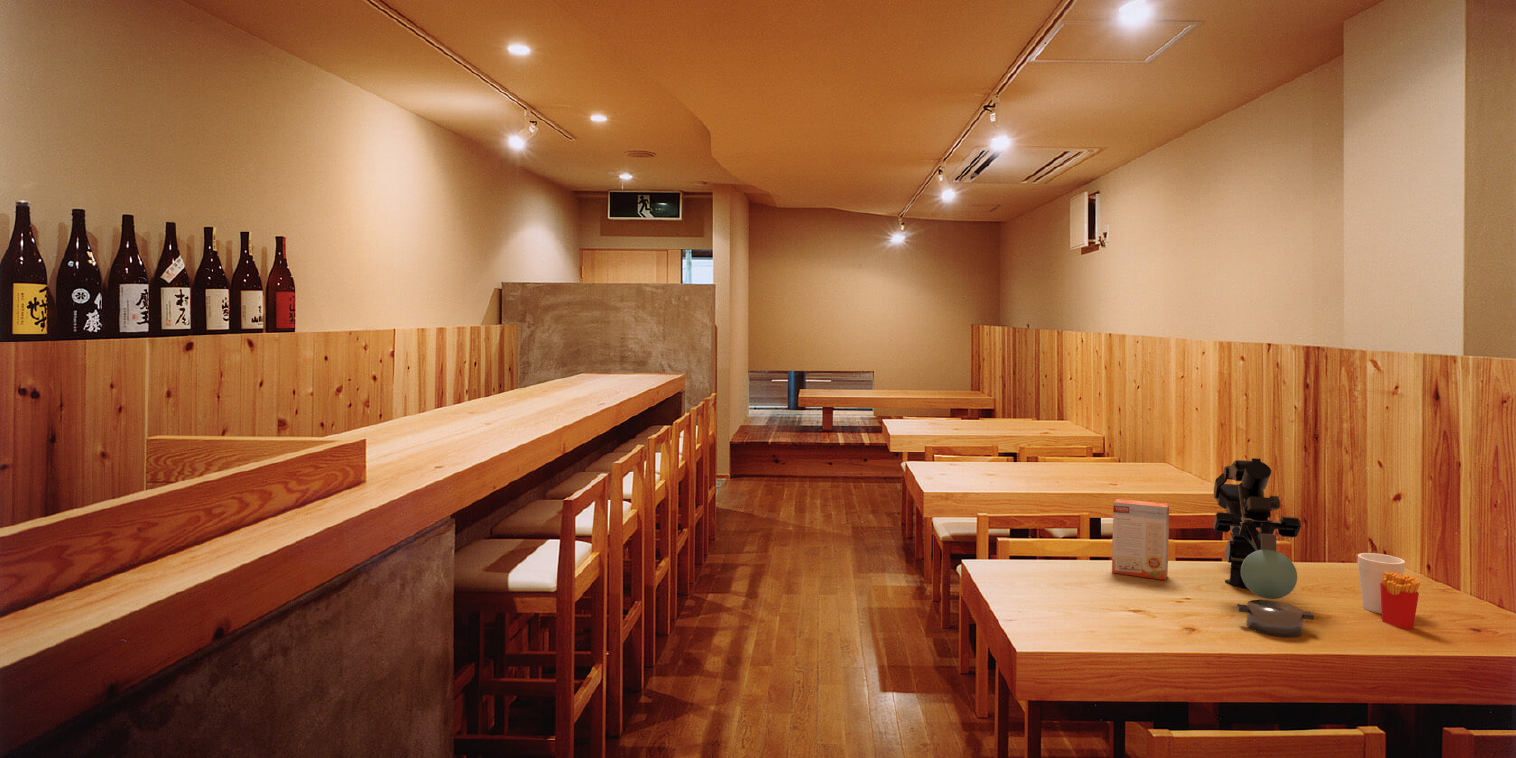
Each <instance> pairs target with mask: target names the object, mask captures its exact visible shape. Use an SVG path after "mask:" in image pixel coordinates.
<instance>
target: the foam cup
mask: <svg viewBox="0 0 1516 758" xmlns="http://www.w3.org/2000/svg"><path fill="white" fill-rule="evenodd" d="M1357 566H1358V573H1359V584H1360V592H1361V601H1362V603H1361V604H1362V608H1363V609H1364V610H1367V611H1369V612H1372V613H1377V614H1382V610H1381V587H1380V583H1383V576H1384V572H1389V573H1390V572H1394V573H1398V574H1402V575H1403V576H1404V573H1405V571H1406V570H1405V569H1406V561H1405V559H1402V558H1400V557H1397V556H1394V555H1391V554H1390V555H1388V554H1382V553H1375V552H1374V553H1373V552H1362V553H1361V552H1360V553H1357Z"/></svg>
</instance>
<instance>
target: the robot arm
mask: <svg viewBox="0 0 1516 758" xmlns="http://www.w3.org/2000/svg"><path fill="white" fill-rule="evenodd" d="M1271 474H1272V469H1271V468H1270V466H1269V465H1267V464H1266V463H1264V462H1262V459H1261V458H1257V457H1255V458H1254V457H1253V458H1251V460H1242V459H1241V460H1240V459H1235V460H1233V462H1232V464H1231V465H1227V466H1224V467H1223V472H1222V473H1221V474H1220V475H1219V476H1218V477H1216V478H1215V481H1214V488H1213V498H1214V500H1216V503H1217V505H1218V507H1219V506H1220V507H1221V508H1222V509H1224V510H1225V511H1224V512H1223V511H1217V512H1216V513H1215V516H1214V519H1213V531H1214V532H1216V533H1217V532H1218V533H1228V532H1229V531H1231V532H1230V537H1229V540H1228V541H1227V544H1226V548H1225V551H1224V555H1225V557H1224V558H1225V560H1226V562H1227V563H1229V564H1230V568H1229V569H1230V570H1229V572H1230V573H1229V574H1230V575H1229V579H1225V580H1224V582H1225V583H1226V584H1229V585H1233V586H1236V587H1239V588H1243V589H1248V588H1247V587H1246V585H1245V584H1244V582H1243V580H1242V577H1241V566H1242V563H1243V561H1244V560H1245V558H1246V557H1247V556H1248V555H1250V554H1251V553H1253V552H1255V551H1258V550H1261V534H1273V535H1274V532H1275V530H1277V534H1278V535H1279V536H1281V537H1282V538H1285V537H1286V538H1297V537H1298V535H1299V532H1300V530H1301V528H1302V521H1301V520H1300V519H1299V518H1298V517H1297V516H1285V515H1284V516H1283V515H1282V516H1280V518H1279V521H1278V520H1269V518H1271V515H1272V514H1271V512H1272V511H1273V510H1275V511H1277V510H1279V509H1280V508H1281V503H1280V498H1279V496H1277V495H1270V496H1269V497H1265V491H1264V490H1265V489H1266V488H1267V486H1268V483H1269V479H1270V478H1271ZM1228 480H1231V481H1232V480H1233V481H1235V482H1240V483H1239V484H1234V483H1226V482H1228ZM1258 529H1259V530H1258ZM1248 590H1249V589H1248Z"/></svg>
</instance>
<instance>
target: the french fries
mask: <svg viewBox="0 0 1516 758" xmlns="http://www.w3.org/2000/svg"><path fill="white" fill-rule="evenodd" d="M1420 585H1421V582H1420V581H1419V580H1418V579H1416V578H1415V577H1414V576H1413V575H1411V576H1410V575H1409V574H1406V575H1404V574H1403V575H1402V574H1398V573H1394V572H1390V573H1389V572H1384V576H1383V583H1380V587H1381V610H1382V613H1381V620H1382V622H1383V623H1386V624H1388V625H1391V626H1393V627H1396V628H1399V629H1405V630H1412V629H1414V627H1415V626H1414V625H1415V619H1416V613H1417V607H1418V600H1419V595H1420V593H1419V591H1418V590H1419V587H1420Z"/></svg>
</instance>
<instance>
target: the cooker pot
mask: <svg viewBox="0 0 1516 758" xmlns="http://www.w3.org/2000/svg"><path fill="white" fill-rule="evenodd" d="M1246 604H1247V605H1246ZM1246 604H1239V603H1236V609H1237V611H1238V612H1239V613H1246V626H1247V628H1249V629H1250V630H1252V629H1253V630H1252V631H1254V630H1256V631H1255V632H1257V631H1258V632H1257V633H1260V634H1263V633H1264V634H1263V635H1266V634H1267V635H1266V636H1272V637H1279V638H1299V637H1301V636H1302V635H1303V624H1304V623H1303V621H1304V620H1312V621H1313V620H1314V619H1315V615H1314V614H1313V613H1312V612H1311V611H1307V610H1302V609H1301V608H1300V607H1298V606H1296V605H1293V604H1290V603H1287V602H1282V601H1279V600H1277V601H1276V600H1273V599H1252V600H1249V601H1248V602H1247V603H1246ZM1300 635H1301V636H1300Z"/></svg>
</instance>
